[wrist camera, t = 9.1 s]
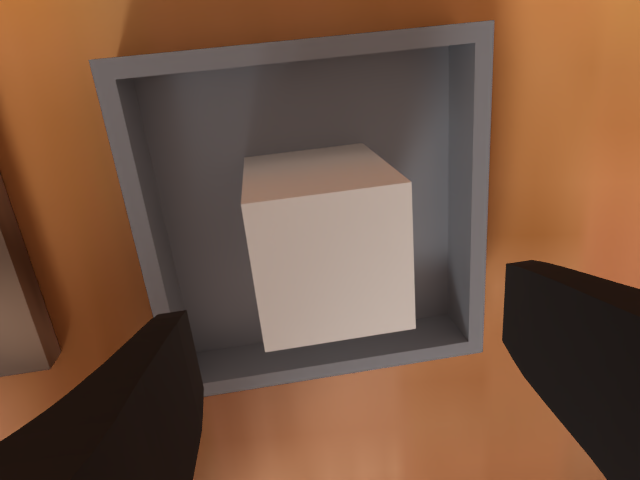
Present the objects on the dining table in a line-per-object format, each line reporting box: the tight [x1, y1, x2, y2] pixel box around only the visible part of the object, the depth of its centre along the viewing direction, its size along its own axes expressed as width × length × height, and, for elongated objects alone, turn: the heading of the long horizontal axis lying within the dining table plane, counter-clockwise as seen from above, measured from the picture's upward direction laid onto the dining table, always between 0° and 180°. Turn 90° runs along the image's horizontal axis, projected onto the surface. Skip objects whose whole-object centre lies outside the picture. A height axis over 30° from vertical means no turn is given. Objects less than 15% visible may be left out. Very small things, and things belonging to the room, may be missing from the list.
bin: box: [89, 20, 494, 397], centre depth 18 cm, size 12×12×3 cm
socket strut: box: [241, 143, 416, 352], centre depth 16 cm, size 4×4×6 cm
